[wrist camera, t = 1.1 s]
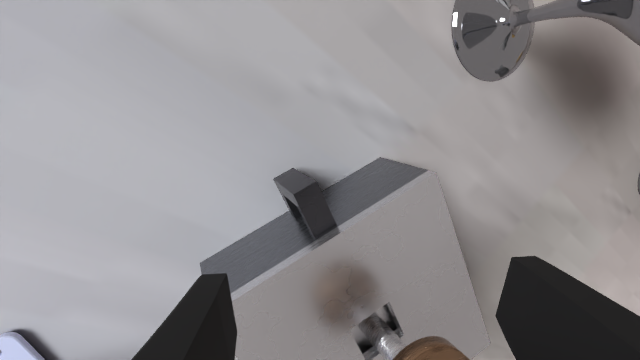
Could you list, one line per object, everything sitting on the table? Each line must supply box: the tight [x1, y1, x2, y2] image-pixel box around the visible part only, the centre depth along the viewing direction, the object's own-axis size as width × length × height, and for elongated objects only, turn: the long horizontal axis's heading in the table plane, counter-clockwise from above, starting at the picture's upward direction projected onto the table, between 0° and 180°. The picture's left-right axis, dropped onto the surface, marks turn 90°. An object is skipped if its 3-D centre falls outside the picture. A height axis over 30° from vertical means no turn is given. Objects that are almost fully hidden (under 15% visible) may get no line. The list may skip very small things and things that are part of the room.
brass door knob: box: [350, 304, 470, 360], centre depth 16 cm, size 10×10×6 cm
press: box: [200, 157, 490, 360], centre depth 19 cm, size 12×14×5 cm
